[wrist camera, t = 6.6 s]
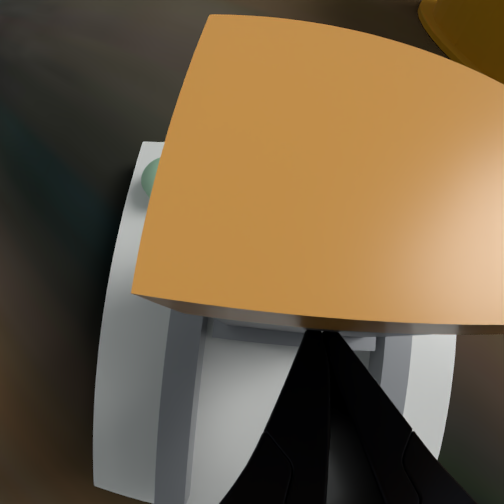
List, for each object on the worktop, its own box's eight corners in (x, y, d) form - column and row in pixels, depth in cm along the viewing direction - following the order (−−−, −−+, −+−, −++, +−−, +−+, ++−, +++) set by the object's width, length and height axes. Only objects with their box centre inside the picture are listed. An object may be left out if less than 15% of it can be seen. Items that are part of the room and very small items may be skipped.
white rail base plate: (407, 492, 12) (437, 517, 9) (109, 471, 12) (80, 497, 9) (432, 197, 16) (463, 169, 13) (152, 161, 17) (134, 124, 13)
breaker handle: (364, 350, 12) (602, 350, 2) (215, 337, 12) (76, 336, 2) (369, 255, 13) (554, 101, 3) (228, 238, 13) (185, 0, 3)
